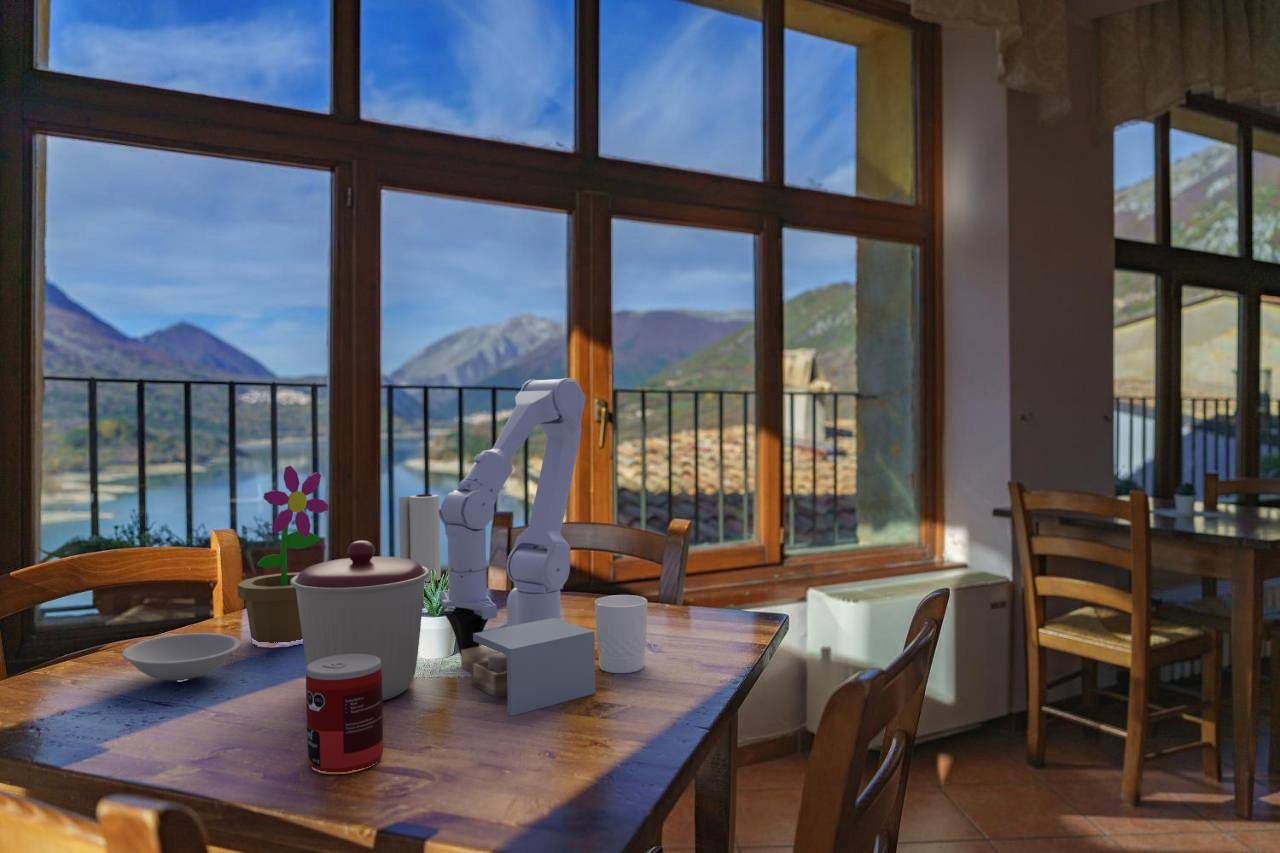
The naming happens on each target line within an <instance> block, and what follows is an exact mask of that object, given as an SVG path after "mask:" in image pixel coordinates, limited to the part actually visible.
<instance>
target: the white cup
mask: <svg viewBox="0 0 1280 853" xmlns="http://www.w3.org/2000/svg"><path fill="white" fill-rule="evenodd" d="M594 611H595V613H594V614H595V628H596V629H595V630H596V639H597V640H596V641H597V642H596V643H597V650H598V664H599V665H598V666H599V668H600V669H601V670H602V671H604V672H607V673H610V674H611V673H612V674H630V673H636V672H639V671H641V670H643V668H644V667H645V664H646V660H645V659H646V646H647V639H646V638H647V630H648V629H647V628H648V626H647V624H648V621H647V620H648V598H646V597H643V596H639V595H631V594H617V595H615V594H614V595H606V596H601V597H599V598H597V599H595V600H594Z"/></svg>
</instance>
